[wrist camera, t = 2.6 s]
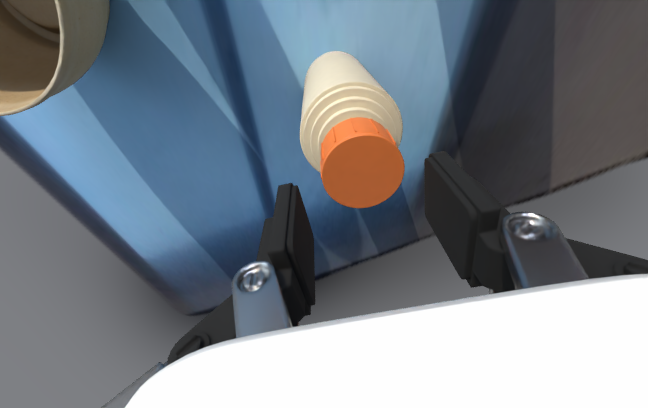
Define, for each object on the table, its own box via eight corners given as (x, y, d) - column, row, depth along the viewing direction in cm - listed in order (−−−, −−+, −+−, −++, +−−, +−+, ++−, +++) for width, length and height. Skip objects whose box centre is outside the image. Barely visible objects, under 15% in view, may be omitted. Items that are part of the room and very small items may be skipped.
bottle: (379, 76, 28) (456, 151, 13) (343, 127, 31) (372, 238, 16) (326, 36, 26) (346, 72, 11) (293, 96, 29) (273, 188, 14)
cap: (406, 141, 15) (422, 162, 13) (362, 193, 17) (369, 219, 15) (348, 101, 14) (354, 117, 12) (306, 162, 16) (306, 186, 14)
